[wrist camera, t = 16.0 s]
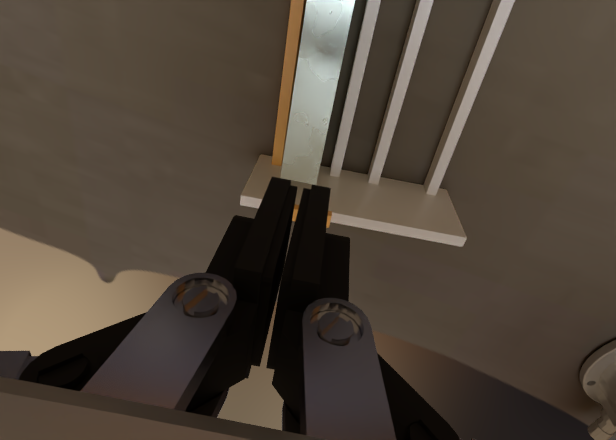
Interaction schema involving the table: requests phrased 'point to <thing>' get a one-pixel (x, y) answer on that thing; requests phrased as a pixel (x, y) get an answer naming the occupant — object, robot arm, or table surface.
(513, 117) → the table surface
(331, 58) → the panel
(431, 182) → the rack
